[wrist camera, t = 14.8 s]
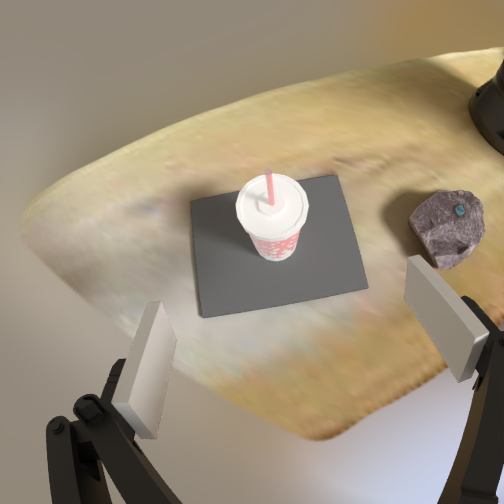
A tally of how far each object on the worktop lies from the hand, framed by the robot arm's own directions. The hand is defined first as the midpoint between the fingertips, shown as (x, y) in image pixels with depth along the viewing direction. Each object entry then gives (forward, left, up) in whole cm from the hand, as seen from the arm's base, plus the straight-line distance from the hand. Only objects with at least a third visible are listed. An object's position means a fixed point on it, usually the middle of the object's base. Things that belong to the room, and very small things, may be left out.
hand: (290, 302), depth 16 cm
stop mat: (0, -9, -17) cm, 20 cm away
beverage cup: (0, -9, -17) cm, 19 cm away
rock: (-21, -7, -18) cm, 29 cm away
